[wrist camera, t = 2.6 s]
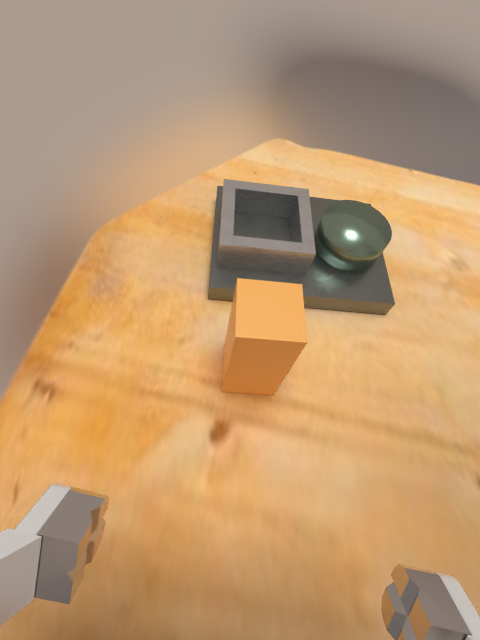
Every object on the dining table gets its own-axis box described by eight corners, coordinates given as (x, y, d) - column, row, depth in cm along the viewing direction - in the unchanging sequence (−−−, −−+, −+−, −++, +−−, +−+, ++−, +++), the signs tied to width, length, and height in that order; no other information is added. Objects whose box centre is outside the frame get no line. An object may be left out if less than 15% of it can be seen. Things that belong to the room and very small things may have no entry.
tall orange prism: (272, 348, 32) (302, 284, 24) (273, 395, 30) (307, 342, 21) (224, 345, 32) (237, 278, 23) (221, 392, 29) (235, 336, 21)
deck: (363, 217, 43) (382, 182, 38) (384, 314, 36) (411, 285, 31) (216, 200, 41) (219, 162, 37) (208, 299, 34) (210, 266, 30)
